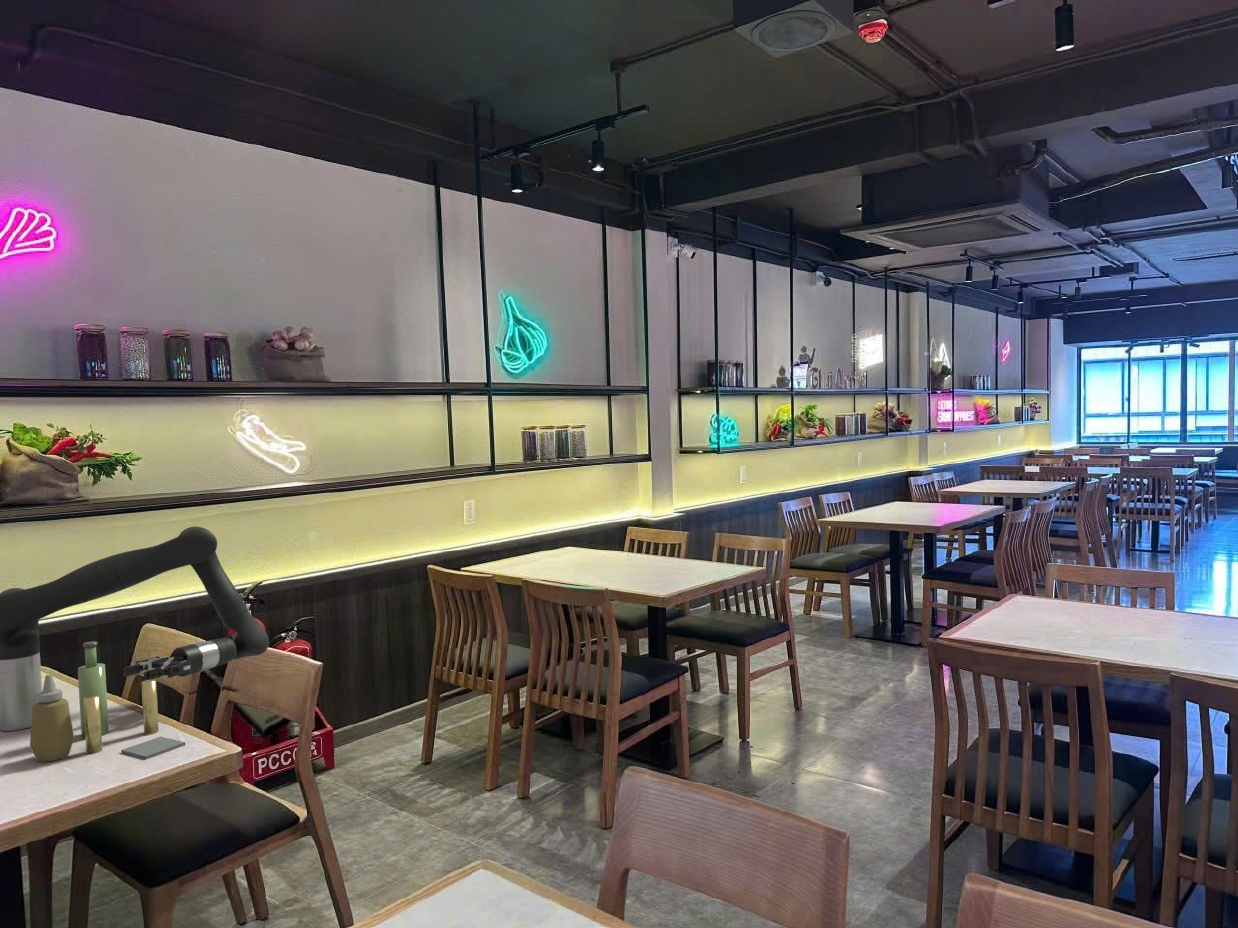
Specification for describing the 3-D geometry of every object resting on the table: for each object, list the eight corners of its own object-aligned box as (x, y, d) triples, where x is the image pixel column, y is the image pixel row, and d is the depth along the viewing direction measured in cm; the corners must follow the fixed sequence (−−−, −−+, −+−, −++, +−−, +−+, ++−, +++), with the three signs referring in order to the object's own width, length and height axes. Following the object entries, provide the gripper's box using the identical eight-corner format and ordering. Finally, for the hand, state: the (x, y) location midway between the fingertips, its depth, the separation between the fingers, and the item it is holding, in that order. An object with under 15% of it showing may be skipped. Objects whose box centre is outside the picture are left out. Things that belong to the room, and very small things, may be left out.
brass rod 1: (83, 752, 184) (80, 698, 184) (97, 747, 187) (94, 694, 187) (91, 754, 183) (88, 700, 182) (105, 749, 186) (102, 696, 185)
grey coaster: (121, 752, 183) (121, 749, 183) (160, 738, 191) (160, 736, 191) (146, 759, 179) (145, 756, 179) (185, 744, 187) (185, 742, 187)
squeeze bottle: (47, 766, 177) (43, 682, 176) (21, 762, 180) (16, 679, 179) (84, 752, 184) (79, 671, 184) (58, 748, 187) (53, 669, 187)
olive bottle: (76, 736, 195) (71, 644, 194) (100, 728, 200) (95, 639, 199) (89, 739, 192) (84, 646, 192) (113, 731, 197) (108, 641, 196)
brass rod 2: (141, 733, 196) (138, 682, 195) (153, 728, 198) (151, 678, 198) (149, 734, 194) (146, 683, 194) (161, 730, 197) (158, 680, 196)
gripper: (177, 641, 222) (116, 656, 208) (212, 646, 215) (151, 662, 201) (179, 669, 222) (117, 686, 208) (213, 675, 215) (152, 693, 201)
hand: (134, 674), depth 204 cm, fingers open, 8 cm apart
